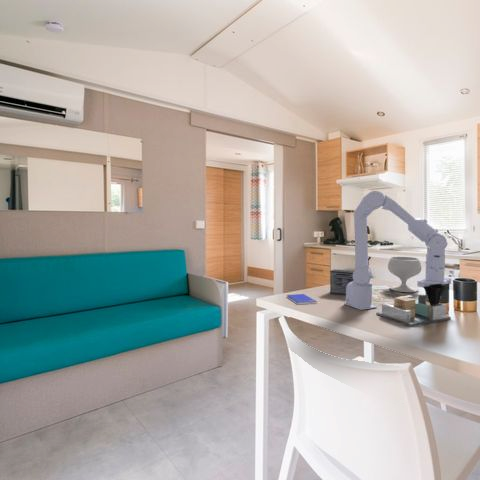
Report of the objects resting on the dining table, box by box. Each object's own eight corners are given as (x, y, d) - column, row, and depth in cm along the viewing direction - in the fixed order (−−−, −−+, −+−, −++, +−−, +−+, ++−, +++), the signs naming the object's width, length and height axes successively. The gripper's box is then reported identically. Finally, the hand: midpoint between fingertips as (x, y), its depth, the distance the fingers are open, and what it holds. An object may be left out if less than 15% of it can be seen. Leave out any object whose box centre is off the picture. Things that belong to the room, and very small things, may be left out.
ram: (403, 309, 118) (403, 293, 117) (411, 308, 119) (412, 292, 119) (428, 317, 108) (428, 299, 108) (437, 315, 110) (438, 298, 110)
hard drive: (317, 300, 131) (304, 293, 143) (298, 302, 129) (286, 294, 141) (317, 304, 131) (304, 297, 143) (298, 306, 129) (286, 298, 141)
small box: (357, 293, 147) (357, 270, 146) (353, 296, 142) (354, 272, 141) (333, 290, 153) (334, 268, 152) (329, 293, 147) (329, 270, 147)
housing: (393, 315, 112) (394, 297, 112) (403, 313, 114) (404, 296, 113) (404, 318, 108) (405, 300, 108) (414, 317, 110) (415, 299, 109)
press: (376, 314, 116) (376, 299, 115) (414, 308, 123) (414, 294, 122) (410, 326, 103) (410, 310, 102) (450, 319, 110) (451, 303, 109)
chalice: (401, 294, 144) (402, 260, 143) (380, 287, 158) (381, 257, 157) (427, 292, 148) (429, 259, 147) (405, 286, 161) (406, 256, 160)
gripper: (431, 270, 109) (429, 310, 110) (460, 267, 114) (458, 305, 115) (412, 267, 115) (411, 305, 116) (441, 265, 121) (439, 301, 122)
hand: (433, 305), depth 116 cm, fingers closed
